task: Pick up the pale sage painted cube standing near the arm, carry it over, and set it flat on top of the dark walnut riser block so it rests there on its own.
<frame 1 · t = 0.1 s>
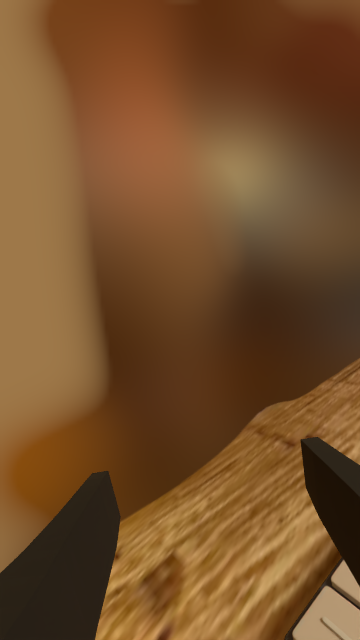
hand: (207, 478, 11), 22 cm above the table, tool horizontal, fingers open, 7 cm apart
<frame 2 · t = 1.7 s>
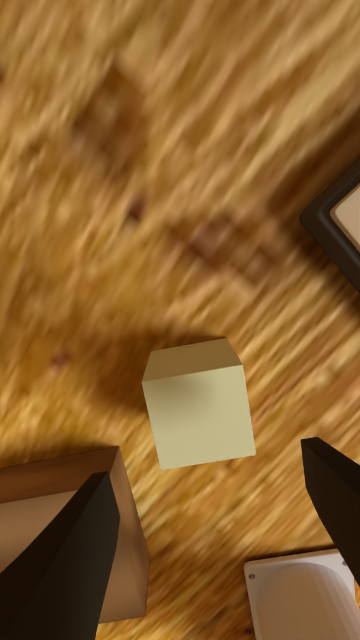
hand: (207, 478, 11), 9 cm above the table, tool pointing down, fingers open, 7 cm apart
sage cube: (195, 379, 20), on the table
walnut riser: (71, 513, 22), on the table
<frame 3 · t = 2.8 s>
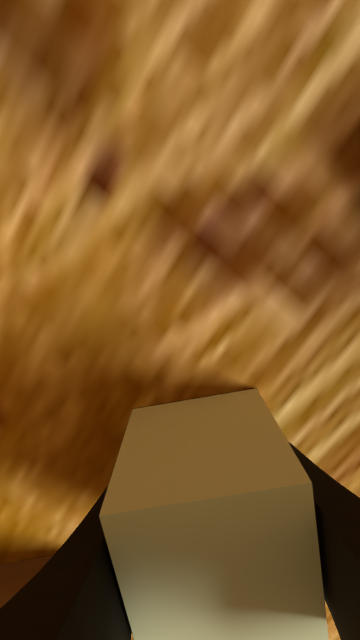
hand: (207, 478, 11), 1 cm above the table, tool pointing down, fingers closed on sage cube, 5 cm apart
sage cube: (204, 453, 12), on the table, touching gripper
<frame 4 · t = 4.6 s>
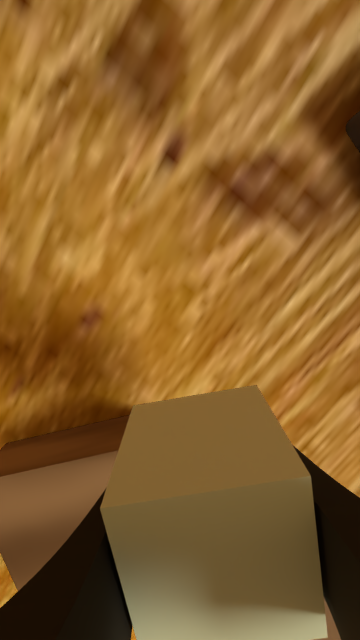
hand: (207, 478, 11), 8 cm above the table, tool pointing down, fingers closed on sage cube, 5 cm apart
sage cube: (204, 450, 12), point 7 cm above the table, touching gripper
walnut riser: (100, 485, 21), on the table
when the fingers open (6 cm above the table, at t = 6.2 s): sage cube stays where it is, resting on walnut riser.
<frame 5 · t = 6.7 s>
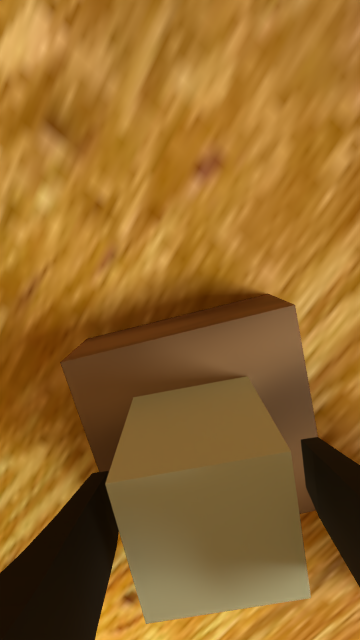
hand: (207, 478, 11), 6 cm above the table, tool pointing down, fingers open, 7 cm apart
sage cube: (200, 437, 13), point 4 cm above the table, touching walnut riser
walnut riser: (197, 397, 17), on the table, touching sage cube
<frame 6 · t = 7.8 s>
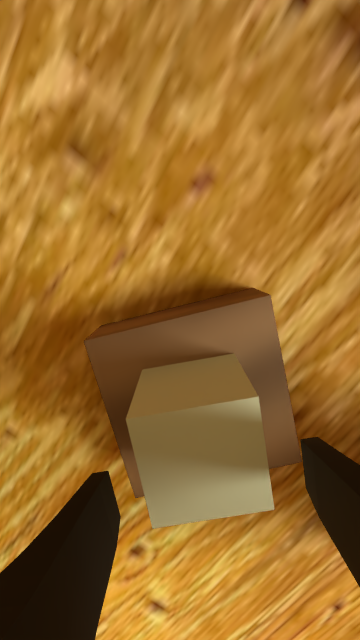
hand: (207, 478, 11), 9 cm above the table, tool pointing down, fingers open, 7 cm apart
sage cube: (195, 403, 16), point 4 cm above the table, touching walnut riser
walnut riser: (194, 375, 20), on the table, touching sage cube
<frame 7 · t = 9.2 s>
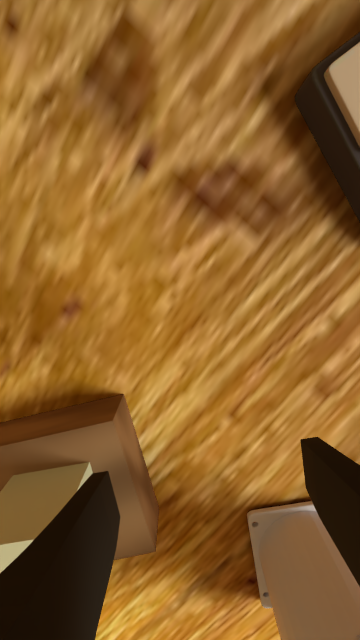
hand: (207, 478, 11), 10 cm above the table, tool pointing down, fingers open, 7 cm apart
sage cube: (61, 501, 19), point 4 cm above the table, touching walnut riser
walnut riser: (81, 463, 23), on the table, touching sage cube
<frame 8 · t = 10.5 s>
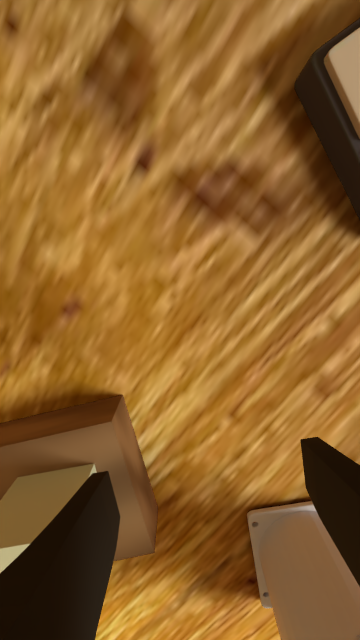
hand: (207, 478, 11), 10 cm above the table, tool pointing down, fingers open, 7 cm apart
sage cube: (66, 503, 19), point 4 cm above the table, touching walnut riser
walnut riser: (80, 464, 23), on the table, touching sage cube
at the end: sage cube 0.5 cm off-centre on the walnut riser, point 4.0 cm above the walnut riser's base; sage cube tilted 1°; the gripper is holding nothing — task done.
